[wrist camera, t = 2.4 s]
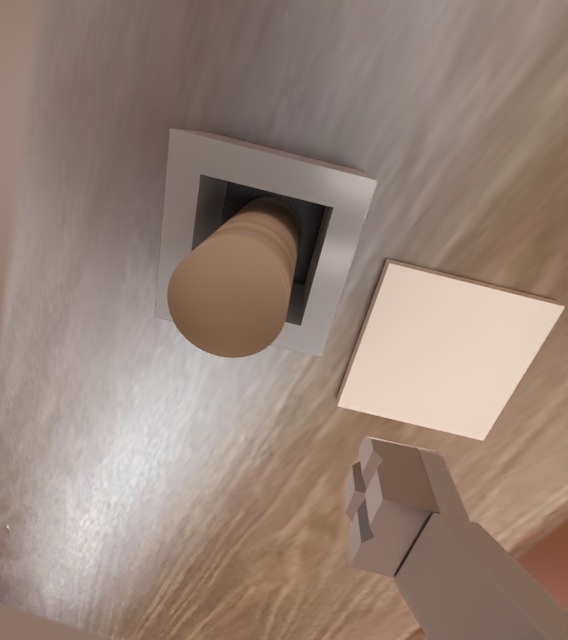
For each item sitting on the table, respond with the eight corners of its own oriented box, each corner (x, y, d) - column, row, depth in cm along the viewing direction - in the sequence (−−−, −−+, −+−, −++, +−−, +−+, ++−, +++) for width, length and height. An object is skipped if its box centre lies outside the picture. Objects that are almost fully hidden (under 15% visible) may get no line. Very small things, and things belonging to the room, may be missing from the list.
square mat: (386, 258, 23) (389, 263, 22) (556, 300, 24) (565, 306, 23) (336, 397, 28) (337, 406, 27) (477, 431, 28) (483, 440, 27)
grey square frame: (207, 131, 21) (169, 128, 16) (362, 170, 21) (377, 180, 16) (189, 279, 25) (154, 316, 20) (320, 311, 25) (321, 357, 20)
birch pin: (243, 188, 22) (173, 231, 11) (308, 204, 22) (300, 262, 12) (232, 252, 24) (162, 342, 13) (293, 267, 24) (273, 368, 13)
